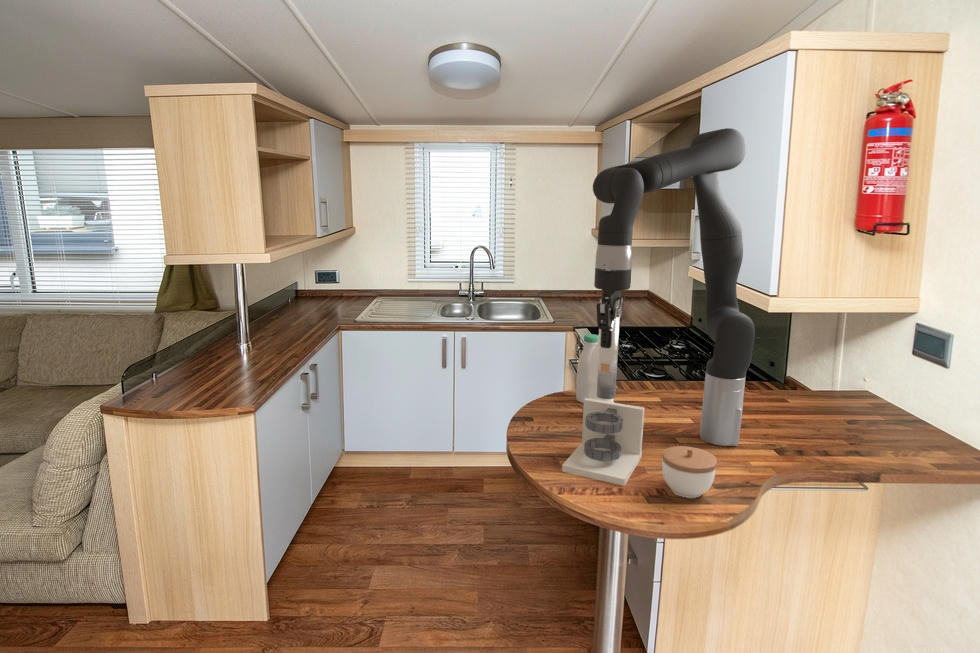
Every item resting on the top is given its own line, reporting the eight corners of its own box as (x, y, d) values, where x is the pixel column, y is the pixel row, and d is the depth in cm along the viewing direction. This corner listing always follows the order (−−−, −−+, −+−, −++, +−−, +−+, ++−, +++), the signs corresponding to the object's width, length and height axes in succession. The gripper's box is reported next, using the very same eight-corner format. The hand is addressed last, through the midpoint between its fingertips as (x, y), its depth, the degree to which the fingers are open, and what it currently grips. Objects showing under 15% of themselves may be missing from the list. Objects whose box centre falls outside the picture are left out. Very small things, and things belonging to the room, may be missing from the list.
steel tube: (599, 392, 133) (604, 314, 129) (617, 395, 131) (622, 315, 127) (594, 397, 129) (598, 317, 125) (612, 400, 127) (617, 319, 123)
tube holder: (641, 456, 138) (645, 406, 136) (624, 485, 124) (628, 430, 122) (584, 445, 144) (586, 396, 142) (561, 471, 130) (564, 418, 128)
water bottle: (615, 422, 159) (620, 332, 154) (588, 422, 159) (593, 332, 154) (610, 412, 166) (615, 326, 161) (585, 412, 166) (589, 326, 161)
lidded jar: (649, 482, 126) (652, 441, 124) (691, 476, 129) (695, 436, 127) (679, 507, 116) (684, 463, 114) (724, 499, 119) (729, 457, 117)
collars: (627, 445, 137) (629, 411, 135) (615, 464, 128) (617, 427, 126) (594, 439, 141) (596, 405, 139) (579, 456, 131) (581, 420, 129)
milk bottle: (606, 403, 174) (610, 337, 169) (582, 405, 172) (585, 339, 167) (594, 395, 181) (598, 331, 177) (571, 397, 179) (574, 333, 174)
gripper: (605, 262, 131) (601, 336, 135) (585, 268, 119) (581, 350, 123) (639, 264, 128) (633, 340, 132) (622, 271, 116) (617, 355, 120)
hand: (608, 344), depth 127 cm, fingers closed on steel tube, 4 cm apart
